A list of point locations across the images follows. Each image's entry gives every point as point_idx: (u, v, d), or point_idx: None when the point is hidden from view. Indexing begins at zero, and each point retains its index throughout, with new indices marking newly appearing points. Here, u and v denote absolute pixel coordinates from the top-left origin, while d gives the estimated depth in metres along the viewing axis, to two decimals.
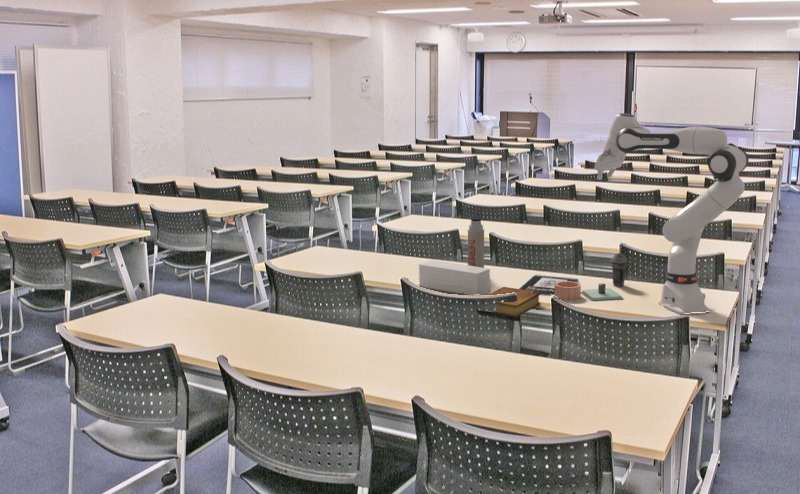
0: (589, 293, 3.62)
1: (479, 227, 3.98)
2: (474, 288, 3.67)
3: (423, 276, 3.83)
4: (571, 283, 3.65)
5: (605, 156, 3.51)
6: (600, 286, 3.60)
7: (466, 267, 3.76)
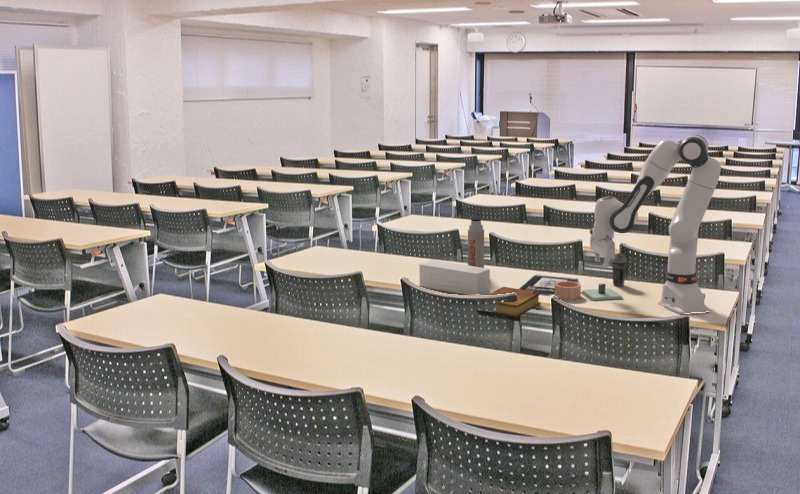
0: (589, 293, 3.62)
1: (479, 227, 3.98)
2: (474, 288, 3.67)
3: (423, 276, 3.83)
4: (571, 283, 3.65)
5: (613, 242, 3.48)
6: (600, 286, 3.60)
7: (466, 267, 3.76)
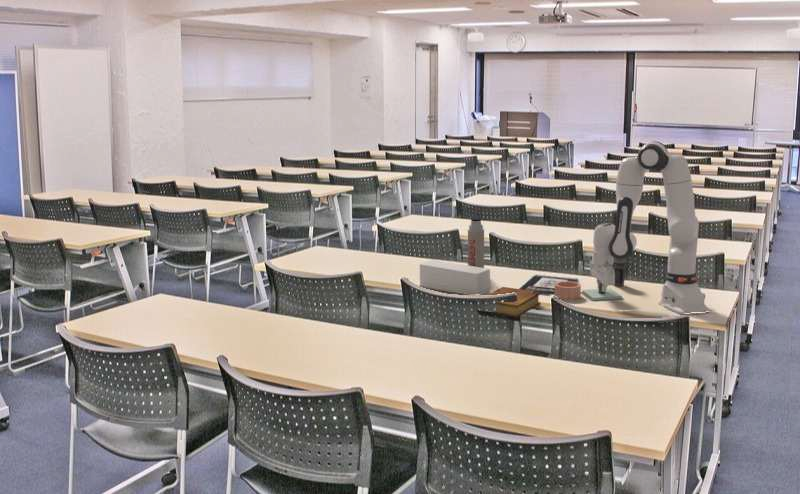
0: (589, 293, 3.62)
1: (479, 227, 3.98)
2: (474, 288, 3.67)
3: (424, 276, 3.83)
4: (571, 283, 3.65)
5: None
6: (600, 286, 3.60)
7: (466, 267, 3.76)
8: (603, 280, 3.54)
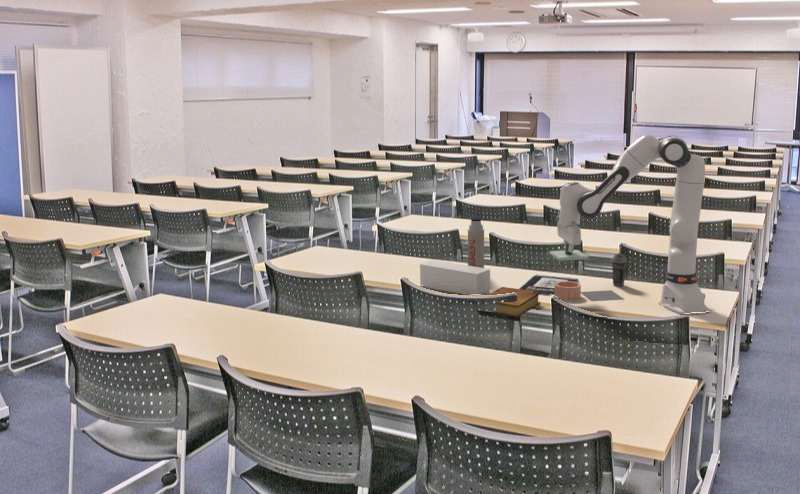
0: (556, 254, 3.58)
1: (479, 227, 3.98)
2: (474, 288, 3.67)
3: (424, 275, 3.83)
4: (571, 283, 3.65)
5: None
6: (567, 246, 3.56)
7: (466, 267, 3.75)
8: (569, 240, 3.50)
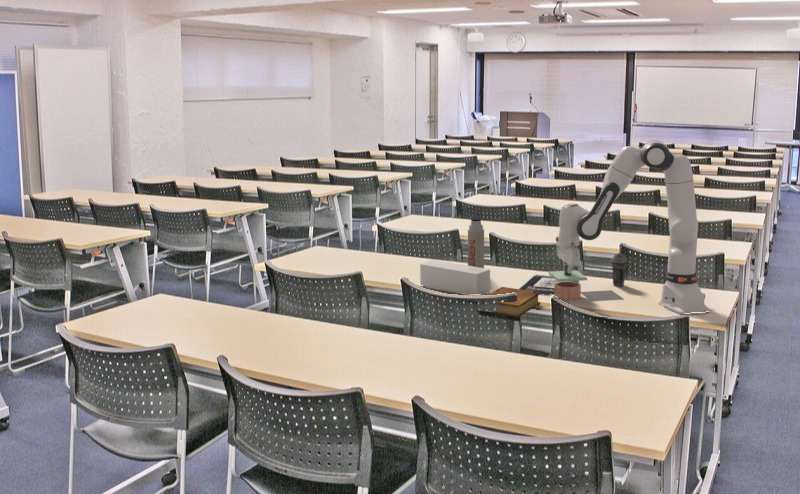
0: (555, 274, 3.60)
1: (479, 227, 3.98)
2: (473, 288, 3.66)
3: (424, 275, 3.83)
4: (571, 283, 3.65)
5: (578, 250, 3.49)
6: (566, 267, 3.58)
7: (467, 267, 3.75)
8: (568, 261, 3.53)
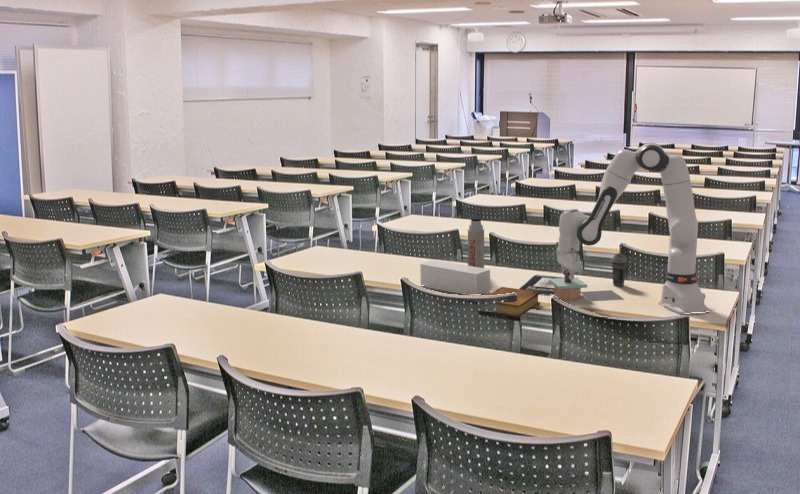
0: (555, 282, 3.60)
1: (479, 227, 3.98)
2: (473, 288, 3.66)
3: (424, 275, 3.83)
4: None
5: None
6: (566, 275, 3.59)
7: (467, 267, 3.75)
8: (568, 267, 3.53)
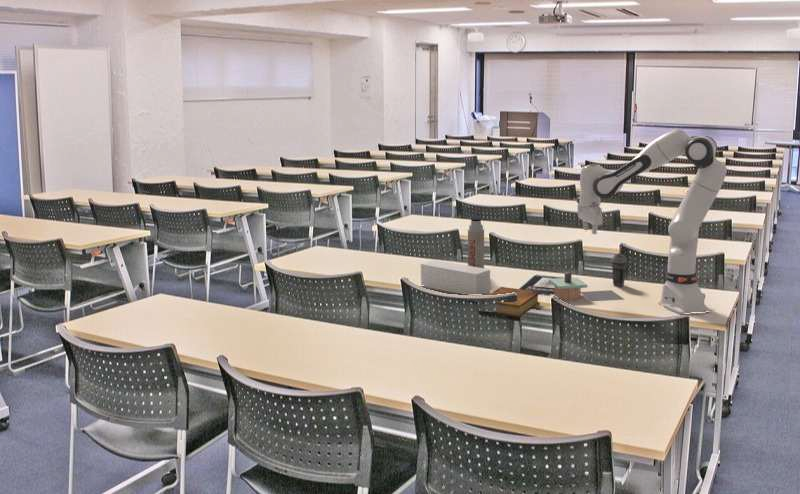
0: (555, 282, 3.60)
1: (479, 227, 3.98)
2: (473, 289, 3.66)
3: (425, 275, 3.83)
4: None
5: (600, 208, 3.51)
6: (566, 275, 3.59)
7: (467, 267, 3.75)
8: (591, 221, 3.55)
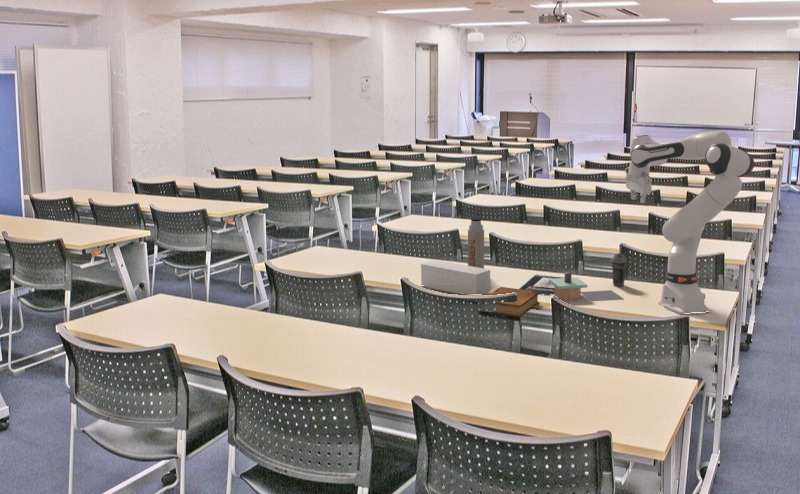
0: (555, 282, 3.60)
1: (479, 227, 3.98)
2: (473, 289, 3.66)
3: (425, 275, 3.84)
4: None
5: (649, 178, 3.64)
6: (566, 275, 3.59)
7: (467, 268, 3.75)
8: (640, 190, 3.67)
